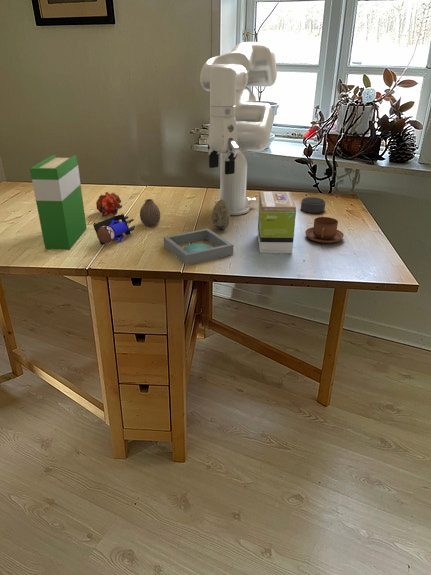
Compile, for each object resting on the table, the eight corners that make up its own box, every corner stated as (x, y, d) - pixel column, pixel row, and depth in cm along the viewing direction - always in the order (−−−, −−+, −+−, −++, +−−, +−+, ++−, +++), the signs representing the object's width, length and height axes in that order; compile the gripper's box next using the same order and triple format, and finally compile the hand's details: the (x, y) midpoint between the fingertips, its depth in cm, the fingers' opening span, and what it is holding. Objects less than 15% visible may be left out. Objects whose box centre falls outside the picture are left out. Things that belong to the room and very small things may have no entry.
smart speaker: (322, 215, 161) (324, 204, 159) (298, 212, 164) (299, 202, 162) (325, 208, 169) (326, 198, 167) (302, 205, 171) (303, 195, 169)
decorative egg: (226, 233, 144) (226, 203, 139) (209, 230, 146) (209, 201, 141) (231, 227, 149) (232, 198, 144) (215, 225, 151) (215, 196, 146)
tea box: (256, 234, 143) (258, 190, 136) (287, 235, 143) (291, 190, 136) (258, 253, 130) (261, 205, 123) (292, 254, 130) (297, 206, 123)
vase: (157, 229, 147) (155, 203, 143) (137, 227, 148) (135, 202, 144) (163, 222, 153) (162, 197, 149) (144, 220, 154) (142, 196, 150)
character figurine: (140, 236, 142) (106, 252, 131) (123, 230, 145) (89, 245, 134) (139, 213, 138) (105, 227, 127) (122, 207, 141) (87, 221, 130)
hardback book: (64, 228, 146) (52, 154, 135) (86, 228, 146) (76, 155, 135) (45, 249, 131) (29, 168, 120) (69, 249, 131) (56, 168, 119)
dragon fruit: (119, 212, 166) (106, 228, 156) (100, 199, 164) (85, 213, 155) (129, 197, 161) (116, 211, 151) (109, 182, 159) (95, 196, 150)
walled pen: (207, 237, 141) (207, 228, 139) (233, 254, 129) (233, 244, 128) (163, 246, 134) (163, 237, 133) (186, 265, 122) (186, 255, 121)
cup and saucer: (346, 246, 136) (350, 227, 133) (308, 245, 136) (310, 227, 133) (337, 232, 146) (340, 214, 143) (301, 231, 146) (303, 214, 143)
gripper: (249, 114, 125) (246, 175, 133) (218, 108, 138) (218, 163, 146) (226, 116, 122) (225, 178, 130) (197, 109, 135) (198, 166, 143)
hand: (221, 170), depth 138 cm, fingers open, 9 cm apart
